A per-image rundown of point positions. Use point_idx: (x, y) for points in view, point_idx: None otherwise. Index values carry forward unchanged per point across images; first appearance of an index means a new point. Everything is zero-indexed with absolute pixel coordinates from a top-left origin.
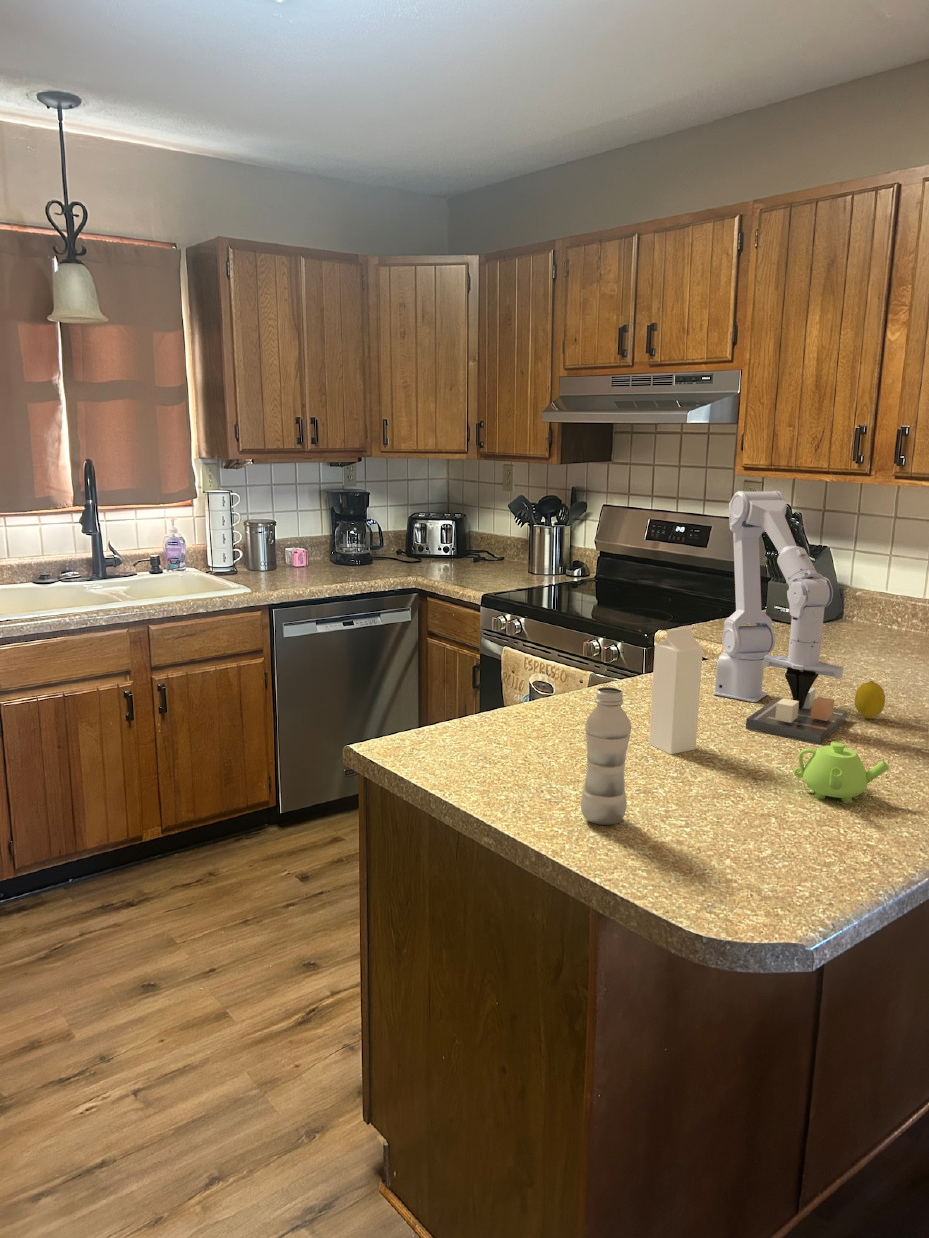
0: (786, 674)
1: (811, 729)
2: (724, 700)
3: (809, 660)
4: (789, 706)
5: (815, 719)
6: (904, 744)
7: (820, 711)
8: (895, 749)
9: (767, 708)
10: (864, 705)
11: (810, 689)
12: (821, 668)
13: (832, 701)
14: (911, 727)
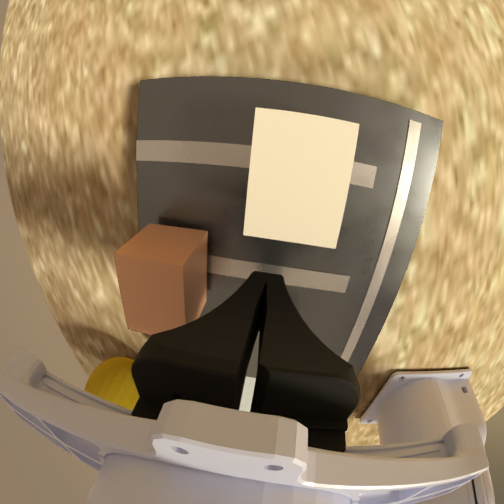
0: (350, 382)
1: (180, 108)
2: (458, 351)
3: (107, 498)
4: (275, 110)
5: None
6: (33, 230)
7: (160, 241)
8: (31, 184)
9: (380, 291)
10: (116, 370)
11: (240, 403)
12: (53, 411)
13: (124, 306)
14: (71, 336)
